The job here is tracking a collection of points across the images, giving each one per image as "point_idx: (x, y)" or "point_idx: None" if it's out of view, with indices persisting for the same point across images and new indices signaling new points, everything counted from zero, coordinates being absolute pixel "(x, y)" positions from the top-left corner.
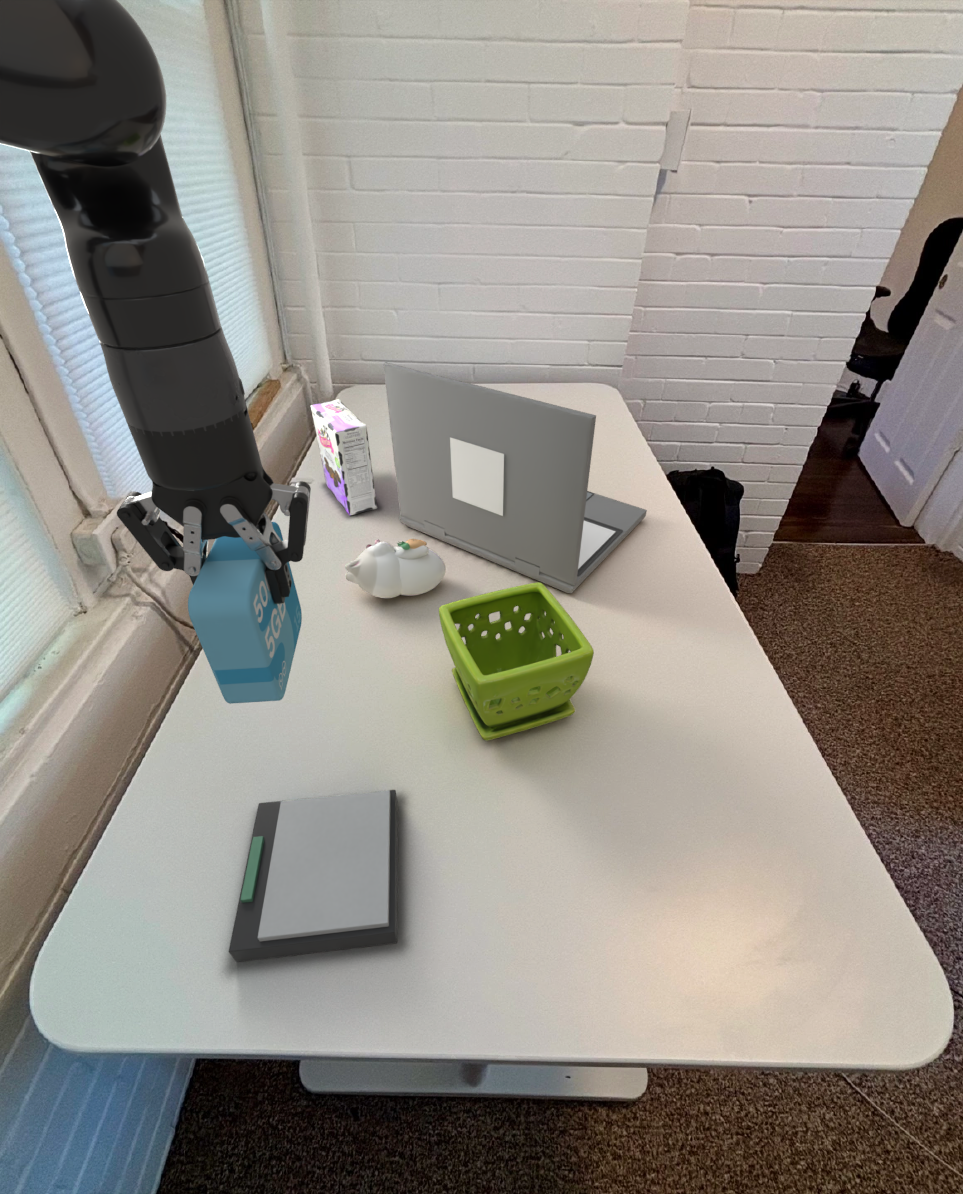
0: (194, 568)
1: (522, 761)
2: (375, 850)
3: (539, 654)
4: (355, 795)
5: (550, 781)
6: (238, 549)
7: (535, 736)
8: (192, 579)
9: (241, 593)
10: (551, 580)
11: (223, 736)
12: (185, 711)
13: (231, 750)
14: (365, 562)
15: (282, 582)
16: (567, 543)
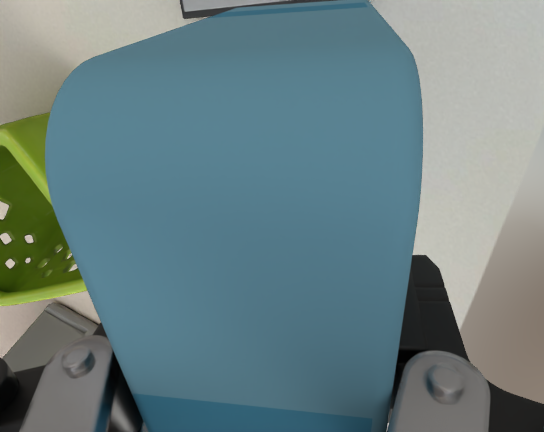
0: (430, 389)
1: (55, 75)
2: None
3: (44, 217)
4: (230, 2)
5: (16, 43)
6: None
7: (49, 111)
8: (455, 340)
9: (77, 171)
10: (72, 321)
11: (449, 136)
12: (510, 181)
13: (435, 111)
14: None
15: None
16: (18, 362)
